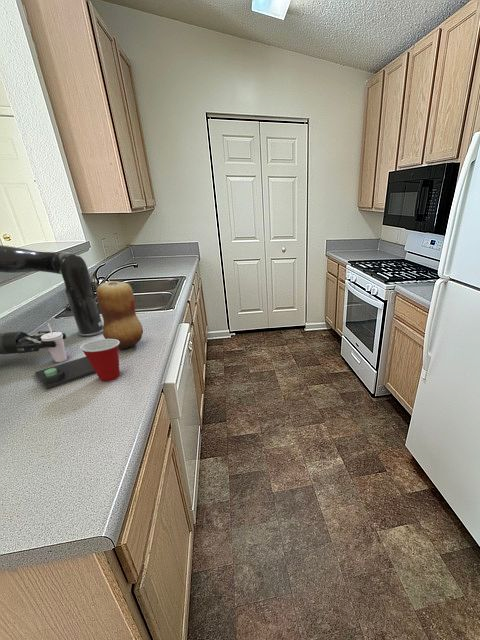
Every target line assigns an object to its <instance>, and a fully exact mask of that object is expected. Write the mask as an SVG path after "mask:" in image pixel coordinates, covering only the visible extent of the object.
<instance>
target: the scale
mask: <svg viewBox="0 0 480 640" xmlns="http://www.w3.org/2000/svg"><path fill="white" fill-rule="evenodd" d="M51 368H56V369H57V372H58V374H56V375H54V376H50V377H46V375H45V373H44V372H45V371H46V370H48V369H51ZM34 374H35V376H36V377H37V378H38V380H39V381H40V383H41V384H42V385H43V386H44V388H45V389H46V390H48V391H49V390H51V389H54V388H57V387H60V386H62V385H65V384H68V383H71V382H74V381H77V380H80V379H84V378H86V377H90V376H92V375H95V374H96V372H95V371H94V369H93V367H92V365H91V364H90V362H89V360H88V358H87V357H86V356H83V357H79V358H77V359H73V360H69V361H67V362H63V363H60V364H57V365H54V366H50V367H47V368H44V369H40V370H37V371H34Z"/></svg>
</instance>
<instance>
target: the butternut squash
mask: <svg viewBox="0 0 480 640" xmlns="http://www.w3.org/2000/svg"><path fill="white" fill-rule="evenodd" d="M96 298H97V304H98V305H97V307H98V310H99V312H100V315H101V316H102V319H103V332H102V336H103V339H116V340H119V342H120V343H119V346H118V347H119V348H118V350H125V349H127V348H133V347H135V346H136V344H138V343H139V342H140V341H141V340H142V338H143V334H144V328H143V324H142V323H141V321H140V319H139V318H138V316H137V313H136V300H135V295H134V291H133V288H132V287H131V285H130V284H129V283H127V282H124V281H111V280H109V281H105V282H102V283H100V284H99V285H98V286H97V288H96Z"/></svg>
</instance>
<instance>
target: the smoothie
mask: <svg viewBox="0 0 480 640" xmlns="http://www.w3.org/2000/svg"><path fill="white" fill-rule="evenodd" d="M47 327H48V330H49V331H50V332H51V333H47V334H44V335H42V336H41V340H42V341H55V343H56V345H57V346H56V347H51V348H47V350H48V352H49V354H50V355H51V358H52V359H53V361H54V362H55V363H61V362H65V361H66V360H68V356H67V351H66V347H65V342H64V339H63V334H62V333H63V332H61V331H55V332H52V331H53V329H52V327H51V324H50V323H49V322H48V323H47Z"/></svg>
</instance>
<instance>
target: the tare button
mask: <svg viewBox="0 0 480 640" xmlns="http://www.w3.org/2000/svg"><path fill="white" fill-rule="evenodd" d="M44 373H45V375H46V377H50V376H54V375H56V374H58V372H57V369H56V368H51V369H48V370H46V371H45V372H44Z"/></svg>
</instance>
